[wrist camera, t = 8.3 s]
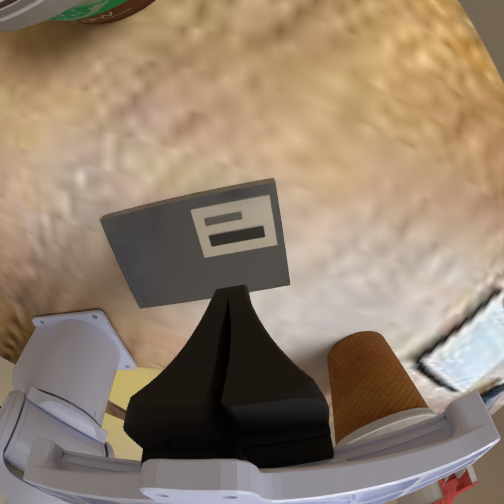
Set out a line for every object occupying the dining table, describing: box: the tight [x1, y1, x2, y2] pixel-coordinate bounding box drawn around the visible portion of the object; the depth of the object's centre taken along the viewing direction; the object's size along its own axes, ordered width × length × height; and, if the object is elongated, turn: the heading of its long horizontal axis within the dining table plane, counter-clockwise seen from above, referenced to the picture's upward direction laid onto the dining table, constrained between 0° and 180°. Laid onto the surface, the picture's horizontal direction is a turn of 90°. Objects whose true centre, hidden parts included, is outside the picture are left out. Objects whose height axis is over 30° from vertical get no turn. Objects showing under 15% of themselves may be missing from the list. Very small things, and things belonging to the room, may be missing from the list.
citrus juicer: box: [396, 464, 479, 504], centre depth 36 cm, size 16×17×20 cm
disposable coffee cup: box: [328, 332, 438, 447], centre depth 24 cm, size 10×10×12 cm
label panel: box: [100, 178, 290, 308], centre depth 21 cm, size 12×8×1 cm, turn 100°
